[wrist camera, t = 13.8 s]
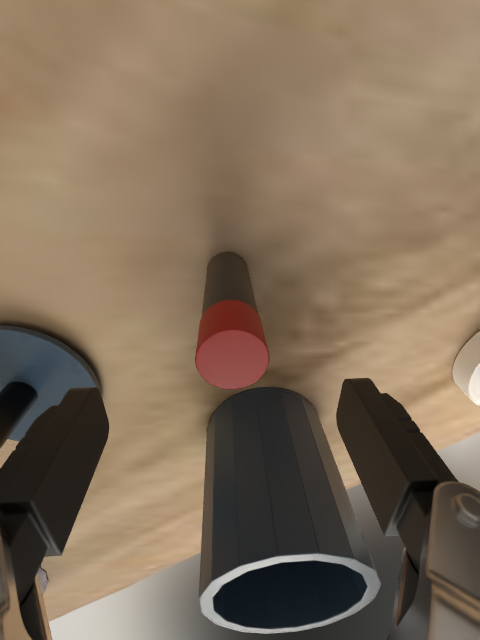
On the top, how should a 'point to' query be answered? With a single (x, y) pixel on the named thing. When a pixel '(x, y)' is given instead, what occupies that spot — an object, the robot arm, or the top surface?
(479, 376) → the character figurine
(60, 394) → the pot lid
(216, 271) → the marker
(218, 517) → the dark blue cylindrical container
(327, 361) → the top surface
